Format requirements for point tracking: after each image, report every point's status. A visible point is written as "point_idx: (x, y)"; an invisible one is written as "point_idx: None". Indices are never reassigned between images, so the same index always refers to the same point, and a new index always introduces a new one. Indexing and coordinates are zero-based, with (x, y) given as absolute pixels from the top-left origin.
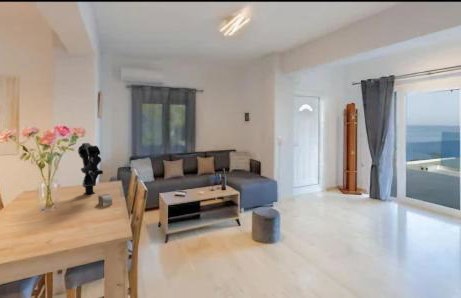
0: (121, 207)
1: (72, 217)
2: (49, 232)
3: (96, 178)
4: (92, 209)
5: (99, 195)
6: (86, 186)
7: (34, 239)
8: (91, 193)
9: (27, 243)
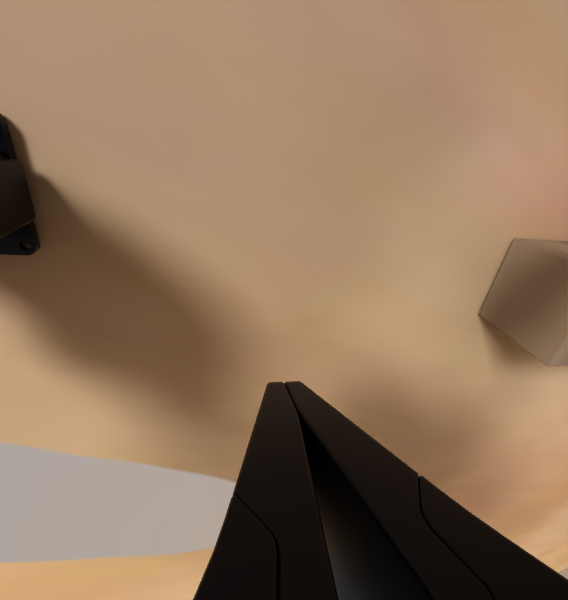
0: None
1: (508, 472)
2: (539, 528)
3: (393, 455)
4: (524, 385)
5: (562, 359)
6: None
7: (535, 549)
8: (25, 188)
9: (538, 557)
